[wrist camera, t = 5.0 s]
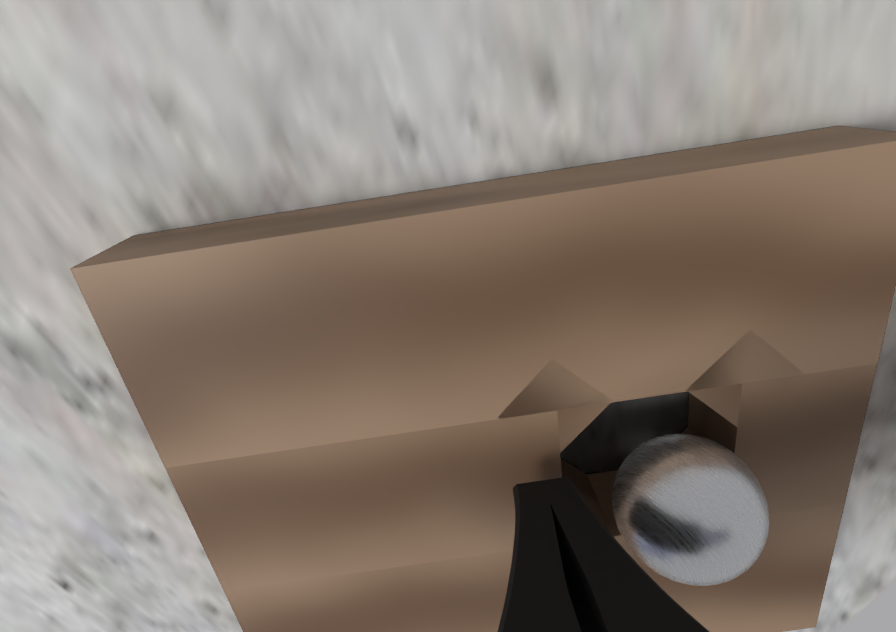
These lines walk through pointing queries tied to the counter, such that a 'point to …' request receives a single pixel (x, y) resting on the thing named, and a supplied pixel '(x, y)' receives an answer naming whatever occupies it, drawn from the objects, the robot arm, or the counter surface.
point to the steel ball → (690, 509)
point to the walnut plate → (506, 369)
